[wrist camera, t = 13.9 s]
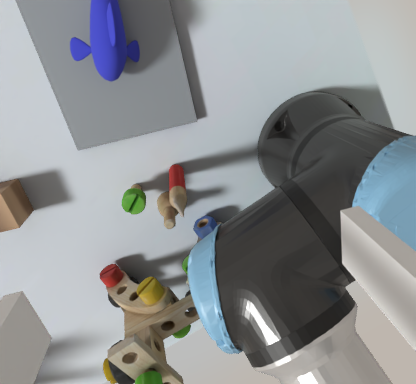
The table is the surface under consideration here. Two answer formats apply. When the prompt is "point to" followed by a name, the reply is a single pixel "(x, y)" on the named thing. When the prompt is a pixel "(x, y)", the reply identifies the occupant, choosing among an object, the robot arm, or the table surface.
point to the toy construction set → (150, 299)
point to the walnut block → (13, 205)
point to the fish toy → (106, 40)
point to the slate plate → (129, 79)
